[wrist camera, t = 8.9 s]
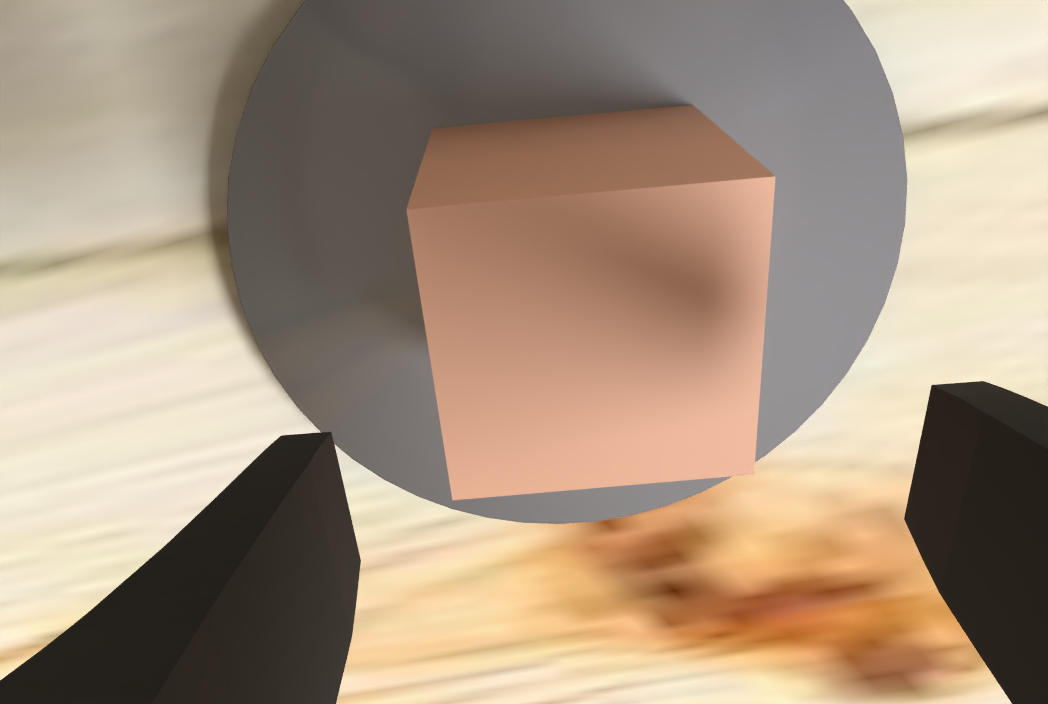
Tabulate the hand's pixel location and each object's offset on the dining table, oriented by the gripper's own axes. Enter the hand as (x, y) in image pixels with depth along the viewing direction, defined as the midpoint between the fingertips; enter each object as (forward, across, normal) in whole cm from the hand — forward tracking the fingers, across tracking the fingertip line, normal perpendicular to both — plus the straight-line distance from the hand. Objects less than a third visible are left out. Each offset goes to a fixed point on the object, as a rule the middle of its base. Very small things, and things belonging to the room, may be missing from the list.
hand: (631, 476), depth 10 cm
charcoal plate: (+8, 0, 0) cm, 8 cm away
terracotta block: (+8, 0, 0) cm, 8 cm away
